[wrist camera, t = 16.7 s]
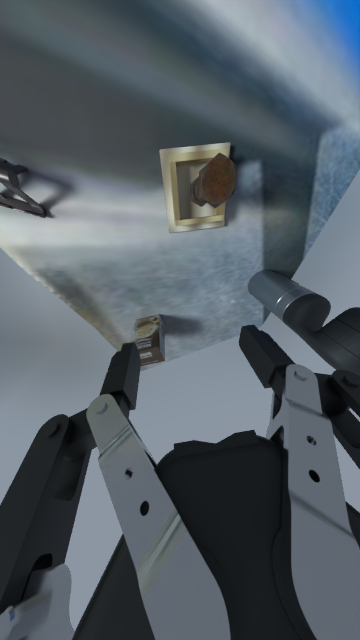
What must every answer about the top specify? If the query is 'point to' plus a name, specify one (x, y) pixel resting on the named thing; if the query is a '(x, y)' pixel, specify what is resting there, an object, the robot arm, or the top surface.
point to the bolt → (214, 182)
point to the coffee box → (149, 339)
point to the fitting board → (177, 178)
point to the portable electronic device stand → (17, 191)
